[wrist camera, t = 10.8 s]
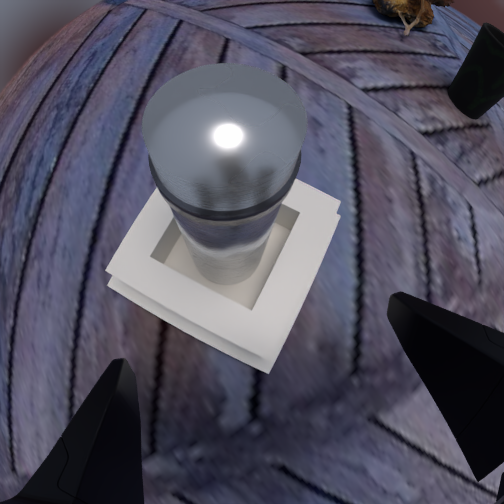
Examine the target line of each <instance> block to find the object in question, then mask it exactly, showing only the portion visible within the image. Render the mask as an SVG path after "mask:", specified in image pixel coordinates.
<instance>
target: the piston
mask: <svg viewBox="0 0 504 504" xmlns="http://www.w3.org/2000/svg"><path fill="white" fill-rule="evenodd" d="M306 132H307V114H306V111H305V107H304V105H303V103H302V101H301V99H300V98H299V96H298V95H297V93H296V92H295V91H294V90H293V89H292V88H291V87H290V86H289V85H288V84H287V83H286V82H284V81H283V80H281V79H280V78H279V77H277V76H275V75H273V74H271V73H269V72H267V71H265V70H262V69H259V68H256V67H252V66H248V65H242V64H232V63H222V64H211V65H205V66H201V67H197V68H194V69H191V70H188V71H186V72H183V73H181V74H179V75H177V76H176V77H174V78H172V79H171V80H169V81H168V82H167V83H165V84H164V85H163V86H162V87H161V88H160V89H158V91H157V92H156V93H155V94H154V95H153V97H152V98H151V99H150V101H149V103H148V105H147V107H146V109H145V112H144V115H143V120H142V134H143V138H144V142H145V144H146V147H147V150H148V152H149V166H150V170H151V174H152V176H153V178H154V181H155V183H156V186H157V188H158V190H159V192H160V194H161V195H162V197H163V198H164V200H165V201H166V202H167V203H168V204H169V206H170V208H171V211H172V213H173V215H174V218H175V220H176V223H177V225H178V227H179V230H180V232H181V234H182V237H183V239H184V241H185V244H186V246H187V248H188V251H189V253H190V255H191V257H192V260H193V262H194V264H195V266H196V268H197V270H198V271H199V272H200V274H201V275H202V276H204V277H205V278H206V279H208V280H209V281H211V282H213V283H216V284H220V285H233V284H238V283H240V282H243V281H245V280H246V279H248V278H249V277H250V276H251V275H252V274H253V273H254V272H255V271H256V269H257V268H258V266H259V264H260V261H261V259H262V256H263V253H264V250H265V248H266V245H267V242H268V239H269V237H270V234H271V231H272V228H273V226H274V223H275V220H276V217H277V215H278V212H279V209H280V206H281V204H282V201H283V200H284V199H285V198H286V197H287V195H288V193H289V192H290V190H291V188H292V186H293V183H294V181H295V178H296V176H297V173H298V171H299V167H300V163H301V148H302V145H303V142H304V139H305V136H306Z"/></svg>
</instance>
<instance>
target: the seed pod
mask: <svg viewBox="0 0 504 504" xmlns="http://www.w3.org/2000/svg"><path fill="white" fill-rule="evenodd" d="M373 3H374V4H375V6H376V7H377V10H378V12H379V13H381V14H383V15H388V16H389V17H397V16H398V15H399V16H400V17H401V19H402V21H403V23H404V25H405V31H404V35H406V36H409V30H410V29H411V28H412V27H413V26H415V27H425V26H427V25H428V24H431V23H432V20H433V17H434V15H433V10H432V9H431V4H434V5H436V6H438V7H439V6H443V7H445V6H447V7H448V6H450V4H451V3H454V1H453V0H373ZM404 17H406V18H407V19H408V20H409V21H410V22H411V24H410V25H409V24H407V23H406V21H405V18H404Z"/></svg>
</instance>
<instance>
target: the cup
mask: <svg viewBox="0 0 504 504" xmlns="http://www.w3.org/2000/svg"><path fill="white" fill-rule="evenodd" d="M448 94H449V97H450V99H451V100H452V102H453V103H454V105H455V106H456V107H457V108H458V109H459V110H460V111H461V112H462V113H464V114H465V115H466V116H468V117H470V118H472V119H478V118H479V117H480V116H482V115H483V114H484V113H485V112H486V111H488V110H489V109H490V108H491V107H492V106H493V105H495V104H496V103H497V102H498V101H499V100H500V99H502V98H503V97H504V33H503V32H501V31H500V30H499V29H497V28H496V27H494V26H493V25H491V24H489V23H483V25H482V27H481V29H480V31H479V33H478V35H477V37H476V39H475V41H474V43H473V45H472V47H471V49H470V51H469V53H468V55H467V56H466V58H465V60H464V62H463V64H462V66H461V67H460V69H459V71H458V73H457V75H456V76H455V78H454V80H453V82H452V83H451V85H450V87H449V89H448Z"/></svg>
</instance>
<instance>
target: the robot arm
mask: <svg viewBox="0 0 504 504" xmlns="http://www.w3.org/2000/svg"><path fill="white" fill-rule="evenodd" d="M387 317H388V320H389V322H390V324H391V326H392V327H393V329H394V331H395V333H396V335H397V337H398V339H399V342H400V344H401V346H402V348H403V349H404V351H405V353H406V355H407V356H408V358H409V360H410V361H411V363H412V364H413V366H414V368H415V369H416V371H417V373H418V374H419V376H420V378H421V379H422V381H423V382H424V384H425V386H426V387H427V389H428V391H429V393H430V394H431V396H432V398H433V399H434V401H435V403H436V405H437V406H438V408H439V410H440V412H441V413H442V415H443V417H444V419H445V420H446V422H447V424H448V426H449V428H450V429H451V431H452V433H453V435H454V437H455V439H456V441H457V443H458V445H459V446H460V448H461V450H462V452H463V454H464V456H465V458H466V460H467V462H468V464H469V466H470V468H471V470H472V472H473V474H474V476H475V478H476V480H477V481H478V482H479V481H480V480H482V479H483V478H484V477H486V476H487V475H488V474H489V473H491V472H492V471H493V470H494V469H496V468H497V467H498V466H499V465H501V464H502V463H503V462H504V333H503V332H500V331H497V330H495V329H492V328H490V327H488V326H485V325H482V324H480V323H478V322H475V321H473V320H471V319H468V318H466V317H463V316H461V315H458V314H456V313H454V312H451V311H449V310H446V309H444V308H441V307H439V306H436V305H434V304H431V303H429V302H426V301H424V300H421V299H419V298H416V297H414V296H411V295H409V294H406V293H404V292H397V293H394V294H392V295H391V296H390V298H389V304H388V309H387ZM61 436H62V437H60V438H59V440H58V441H57V443H56V444H55V446H54V447H53V449H52V450H51V452H50V453H49V455H48V456H47V458H46V459H45V460H44V462H43V463H42V464H41V466H40V467H39V468H38V469H37V471H36V472H35V473H34V475H33V476H32V477H31V478H30V480H29V481H28V482H27V484H26V485H25V486H24V488H23V489H22V490H21V491H20V492H19V493H18V494H17V495H16V496H14V497H13V498H11V499H8V500H6V501H2V502H0V504H144V493H143V479H142V459H141V421H140V411H139V403H138V393H137V383H136V377H135V374H134V372H133V371H132V369H131V367H130V365H129V364H128V362H127V360H126V359H124V358H120V359H114V360H112V361H111V363H110V364H109V366H108V367H107V369H106V370H105V371H104V373H103V374H102V376H101V377H100V379H99V380H98V381H97V383H96V384H95V386H94V387H93V389H92V390H91V392H90V393H89V394H88V396H87V397H86V399H85V400H84V402H83V403H82V405H81V406H80V408H79V409H78V411H77V412H76V414H75V415H74V417H73V418H72V420H71V421H70V423H69V424H68V426H67V427H66V429H65V430H64V432H63V434H62V435H61ZM494 504H504V472H503V473H502V476H501V481H500V486H499V490H498V495H497V499H496V503H494Z"/></svg>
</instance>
